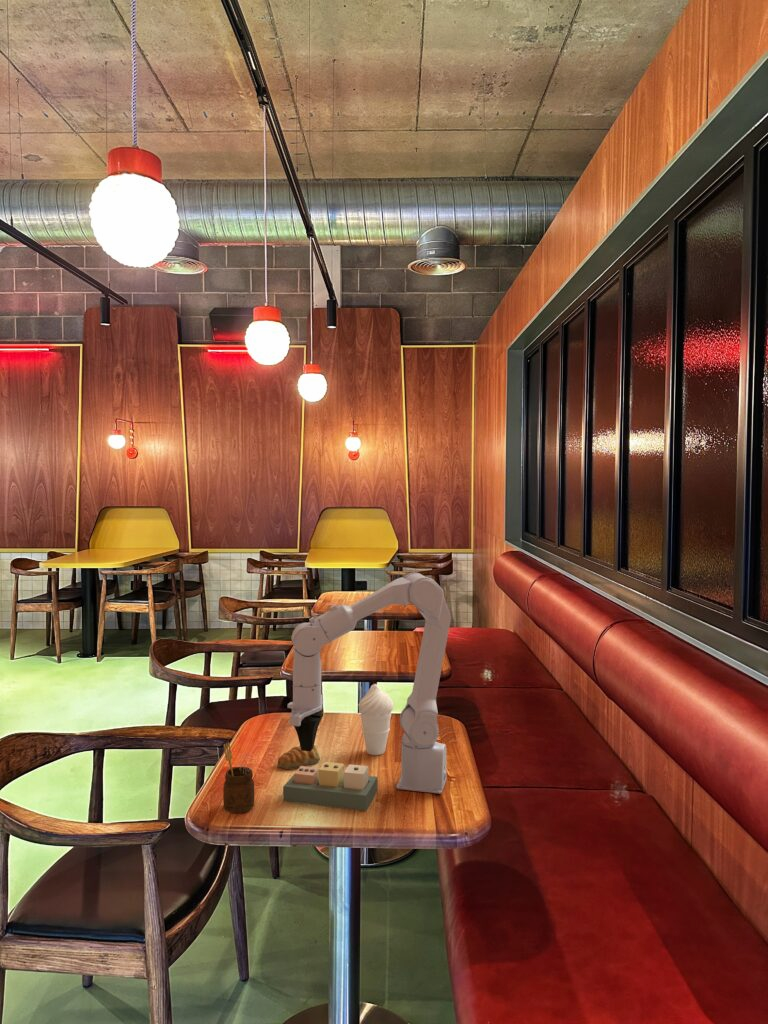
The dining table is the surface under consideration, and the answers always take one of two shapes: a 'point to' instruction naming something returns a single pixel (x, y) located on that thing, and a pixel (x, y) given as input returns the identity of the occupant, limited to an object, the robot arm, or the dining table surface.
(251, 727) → the dining table surface
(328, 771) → the toy block
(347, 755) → the dining table surface
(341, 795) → the toy block sorting board
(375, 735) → the soft serve ice cream cone
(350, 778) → the toy block
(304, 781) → the toy block
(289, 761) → the pastry
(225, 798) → the utensil holder
